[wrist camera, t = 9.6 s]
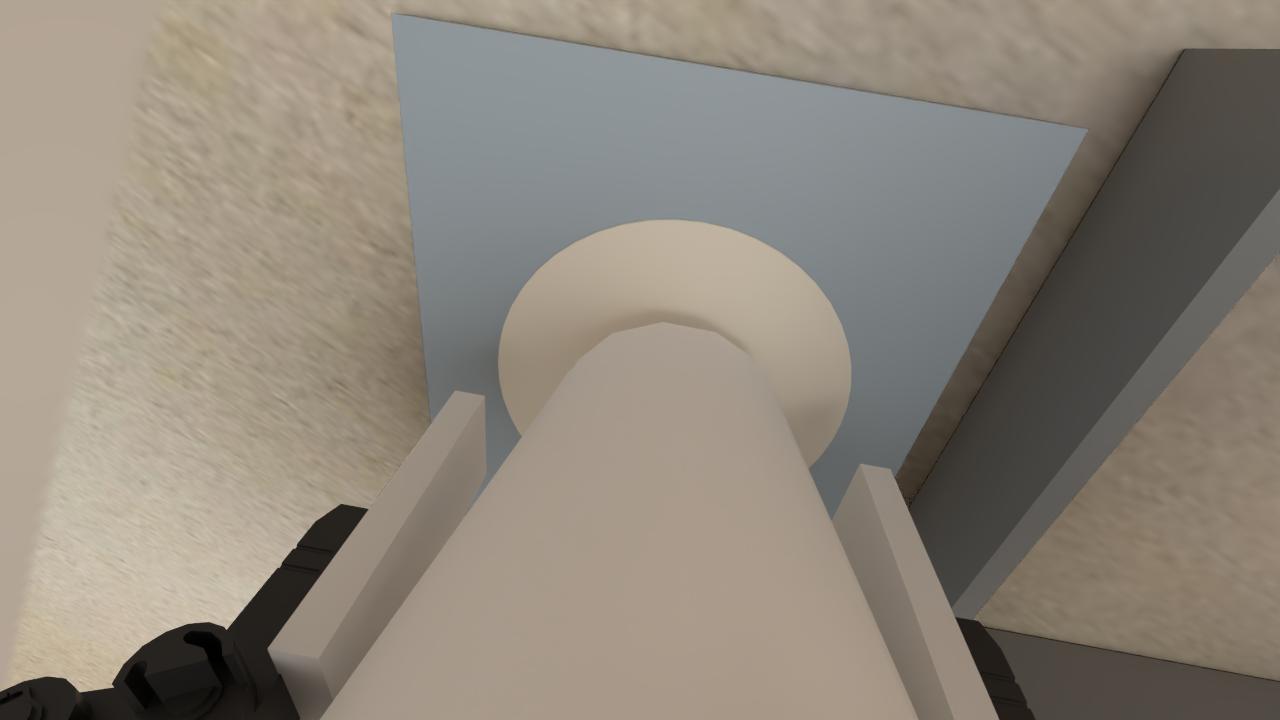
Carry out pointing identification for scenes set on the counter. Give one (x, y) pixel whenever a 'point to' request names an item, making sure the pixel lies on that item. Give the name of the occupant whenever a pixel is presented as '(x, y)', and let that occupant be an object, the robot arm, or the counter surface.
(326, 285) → the counter surface
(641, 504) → the foam cup
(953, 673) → the robot arm
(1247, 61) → the low pen
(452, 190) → the board
